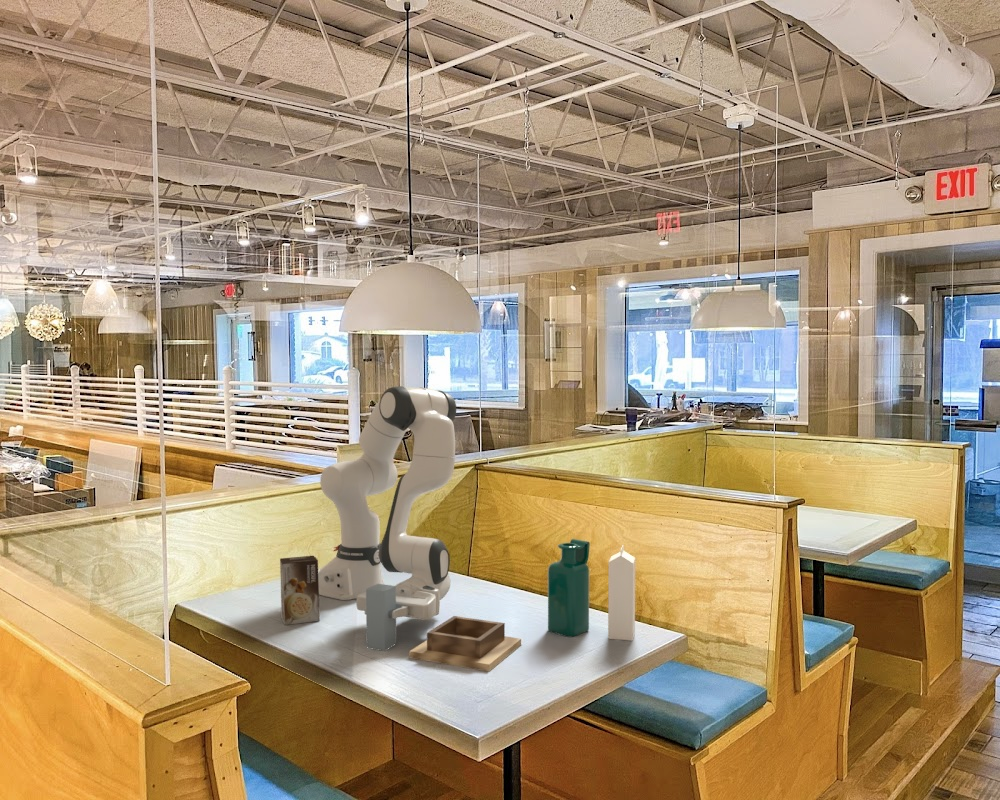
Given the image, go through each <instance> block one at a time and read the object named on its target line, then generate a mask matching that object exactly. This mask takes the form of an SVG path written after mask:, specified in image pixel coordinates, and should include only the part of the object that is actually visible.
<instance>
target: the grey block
mask: <svg viewBox="0 0 1000 800" xmlns="http://www.w3.org/2000/svg"><path fill="white" fill-rule="evenodd" d="M392 609H396V585H391V584H385V583H384V584H376V585H374V586H372V587H369V588H367V589H366V614H365V616H366V617H365V618H366V624H365V625H366V631H365V632H366V648H367V647H368V648H367V649H371V648H373V649H372V650H376V649H379V651H382V650H384V652H385V651H387V650H389V649H391V648H392V647H393V645H394V644H395V645H397V618H395V619H392V618H389V611H390V610H392ZM395 645H394V646H395ZM391 646H392V647H391ZM388 648H389V649H388Z"/></svg>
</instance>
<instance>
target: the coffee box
mask: <svg viewBox="0 0 1000 800" xmlns="http://www.w3.org/2000/svg"><path fill="white" fill-rule="evenodd" d="M279 563H280V564H279V565H280V566H279V568H280V570H279V571H280V572H279V573H280V603H281V604H280V606H281V607H280V608H281V609H280V611H281V620H282V622H283V624H284V626H289V625H296V624H304V623H310V622H312V623H313V622H320V621H321V619H320V615H321V614H320V595H319V579H318V573H319V560H318V558H317V557H315V555H305V556H294V557H283V558H279Z"/></svg>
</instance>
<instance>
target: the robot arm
mask: <svg viewBox="0 0 1000 800" xmlns="http://www.w3.org/2000/svg"><path fill="white" fill-rule="evenodd" d="M456 415H457V403H456V401H455V398H454V397H453V396H452V395H451V394H450V393H447V392H446V391H443V390H435V389H431V388H427V387H413V386H412V387H410V386H408V387H407V386H406V387H405V386H400V385H399V386H397V385H396V386H392V387H388V388H387V389H386V390H385V391H383V393H382V395H381V396H380V399H379V400H378V402H377V403H376V404H375V406H374V408H373V410H371V413H370V414H369V417H368V418H367V421H366V423H365V424H364V426H363V429H362V431H361V433H360V434H359V438H358V444H359V447H360V448H361V450H362V452H363V453H362V455H361V456H360V457H359V458H357V459H352V460H344V461H342V460H341V461H338V462H336V463H334V464H331V465H328V466H327V467H324V469H323V471H322V472H321V474H320V475H321V476H320V479H319V480H320V481H319V484H320V488H321V491H322V492H323V494H324V495H325V497H327V498H328V499H330V500H331V502H332V503H333V505H335V508H336V510H337V512H338V515H339V520H340V537H341V538H340V541H341V542H340V544H338V545H337V546H334V547H333V549H334V550H333V552H336V551H337V553H336V554H335V555H336V556H335V557H334V558H332V559H331V560H330V561H329V562H328V563H326V564H325V565H324V566H323V567H321V568H320V569H319V570H318V579H319V596H323V597H327V598H331V599H335V600H336V599H337V600H339V601H340V600H341V601H349V600H356V608H357V610H358V611H362V612H363V611H364V615H366V589H367V588H369V587H372V586H374V585H376V584H384V585H385V583H384V578H383V573H382V566H383V568H384V569H385V570H386V571H387V572H389V573H400V574H401V573H402V574H403V573H404V574H411V577H409V578H407V579H404V580H403V581H401V582H399V583H397V584H396V585H395V586H396V609H392V610H390V611H389V618H392V619H395V618H396V619H398V618H402V617H404V618H409V619H410V618H411V619H417V620H429V619H431V618H434V617H436V616H438V615H439V614H440V605H441V603H440V601H441V600H443V599H444V598H445V596H446V595H447V594H448V592H449V590H450V588H451V578H450V575H449V571H450V564H451V562H450V553H449V551H448V548H447V546H446V544H445V543H444V542H443V541H442V540H441V539H440V538H439V539H438V538H433V537H426V536H417V535H416V536H415V535H409V534H407V527H408V523H409V519H410V516H411V510H412V506H413V504H414V502H415V501H416V499H418V498H419V497H421V496H422V495H425V494H428V493H431V492H434V491H437V490H440V489H441V488H443V487H445V486H446V485H447V484H448V483H449V482H450V481H451V480H452V477H453V475H454V471H455V460H456V459H455V458H456V433H455V425H454V420H455V418H456ZM407 430H410V432H412V434H413V439H414V440H413V441H414V442H413V450H412V459H411V461H410V465H409V468H408V470H407V471H406V473H404V474H402V475H401V476H400V477H399V479H398V475H399V474H398V469H397V466H396V464H395V463H394V458H395V455H396V452H397V450H398V448H399V446H400V444H401V442H402V440H403V438H404V436H405V434H406V432H407ZM397 482H398V483H397ZM396 483H397V485H396ZM395 485H396V488H395V492H394V495H393V500H392V503H391V508H390V511H389V517H388V520H387V524H386V528H385V533H384V535H383V538H382V540H380V536H381V535H380V534H381V533H380V529H381V528H380V517H379V516H378V514H377V513H376V512H374V511H373V510H371V509H370V508H369V506H368V505H369V504H368V502H367V497H369V496H370V497H371V496H375V495H380V494H383V493H385V492H387V491H389V490H391V489H393V488H394V487H395ZM380 541H381V542H380Z"/></svg>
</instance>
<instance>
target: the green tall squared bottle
mask: <svg viewBox="0 0 1000 800" xmlns="http://www.w3.org/2000/svg"><path fill="white" fill-rule="evenodd" d="M557 547H558V548H559V549H561V550H560V551H561V557H560V559H559V560H558V561H555V562H552V563H550V564H549V566H548V569H547V630H548V631H549V632H550V633H554V634H556V635H561V636H564V637H568V638H573V637H577V636H579V635H581V634H584V633H586V632H588V631H589V629H590V569H589V566H588V560H589V557H590V541H588V540H587V541H586V540H582V539H576V538H572V539H570V542H564V543H563V542H562V543H559V544H558V545H557Z"/></svg>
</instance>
